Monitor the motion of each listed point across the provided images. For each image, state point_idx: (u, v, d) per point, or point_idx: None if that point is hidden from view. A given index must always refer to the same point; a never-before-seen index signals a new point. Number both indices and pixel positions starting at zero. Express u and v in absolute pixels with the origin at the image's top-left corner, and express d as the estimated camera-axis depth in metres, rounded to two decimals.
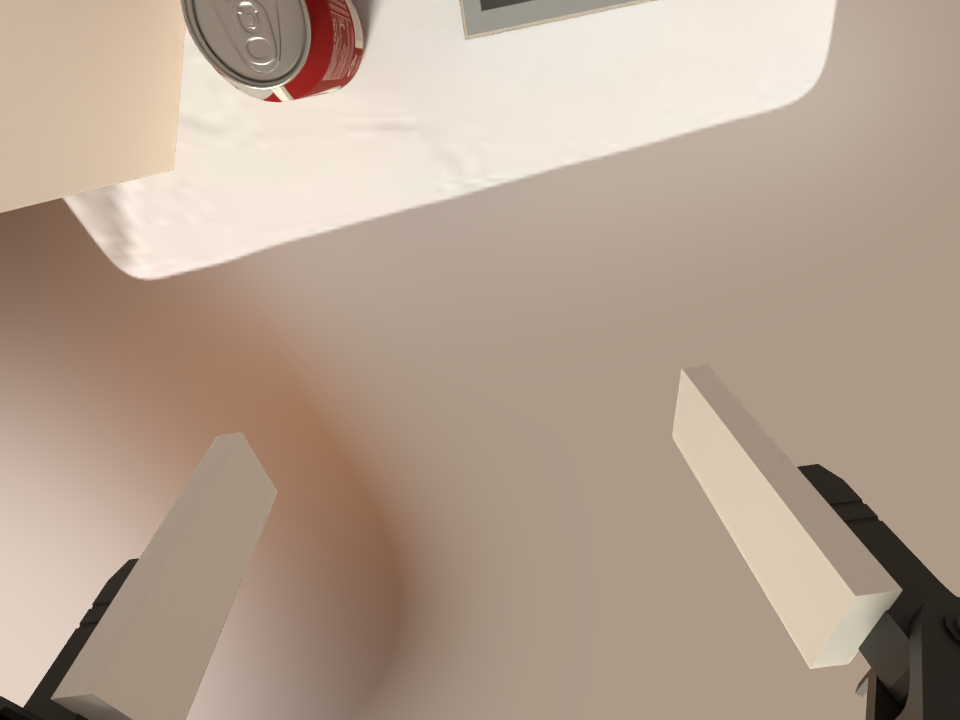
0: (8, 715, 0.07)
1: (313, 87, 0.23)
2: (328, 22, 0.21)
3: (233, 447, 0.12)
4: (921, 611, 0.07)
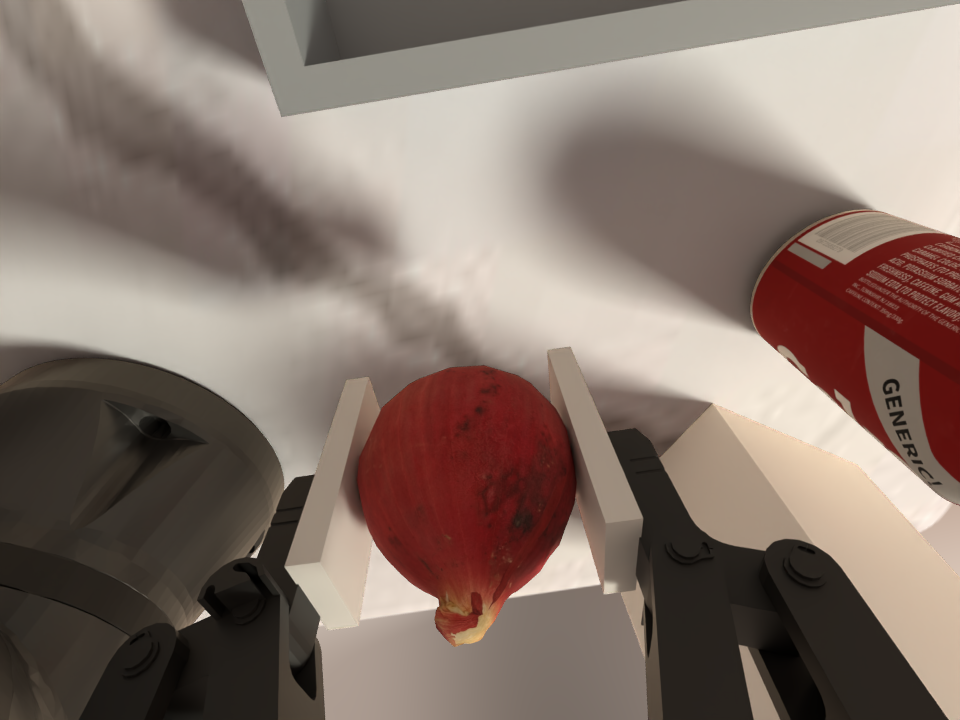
0: (264, 581, 0.08)
1: None
2: None
3: (365, 388, 0.14)
4: (651, 544, 0.09)
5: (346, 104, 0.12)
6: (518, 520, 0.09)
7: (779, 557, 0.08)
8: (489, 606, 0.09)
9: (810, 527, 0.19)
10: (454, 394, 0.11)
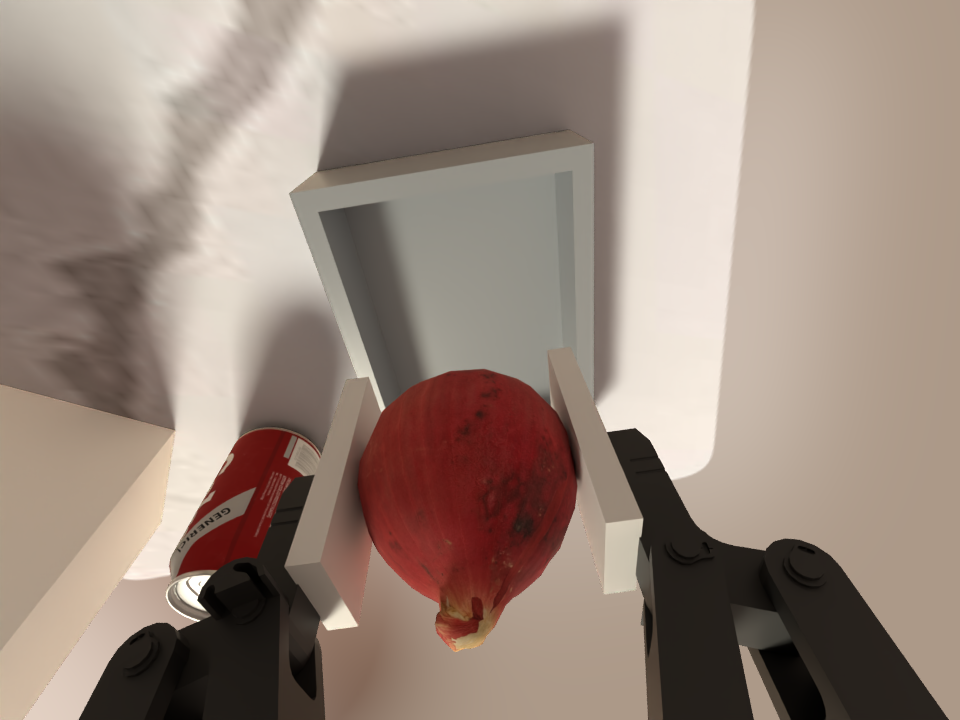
0: (264, 581, 0.08)
1: None
2: None
3: (365, 388, 0.14)
4: (651, 544, 0.09)
5: (304, 231, 0.21)
6: (519, 525, 0.09)
7: (779, 557, 0.08)
8: (490, 611, 0.09)
9: (108, 520, 0.28)
10: (455, 398, 0.11)
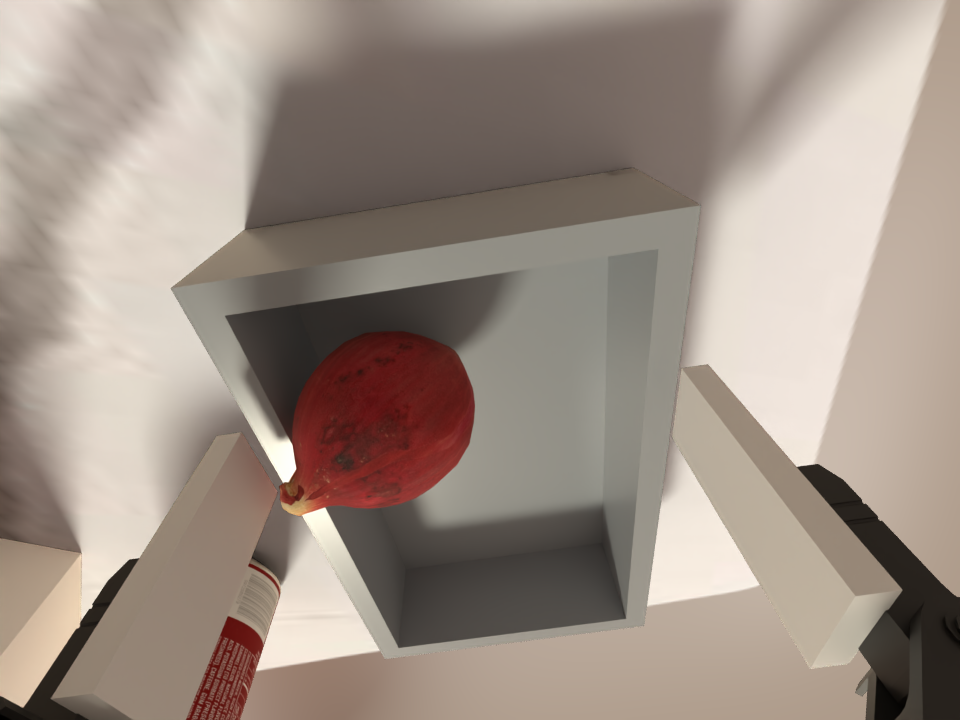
0: (9, 715, 0.07)
1: None
2: None
3: (233, 447, 0.12)
4: (921, 611, 0.07)
5: (205, 344, 0.13)
6: (341, 459, 0.12)
7: None
8: (307, 500, 0.13)
9: None
10: (360, 353, 0.14)
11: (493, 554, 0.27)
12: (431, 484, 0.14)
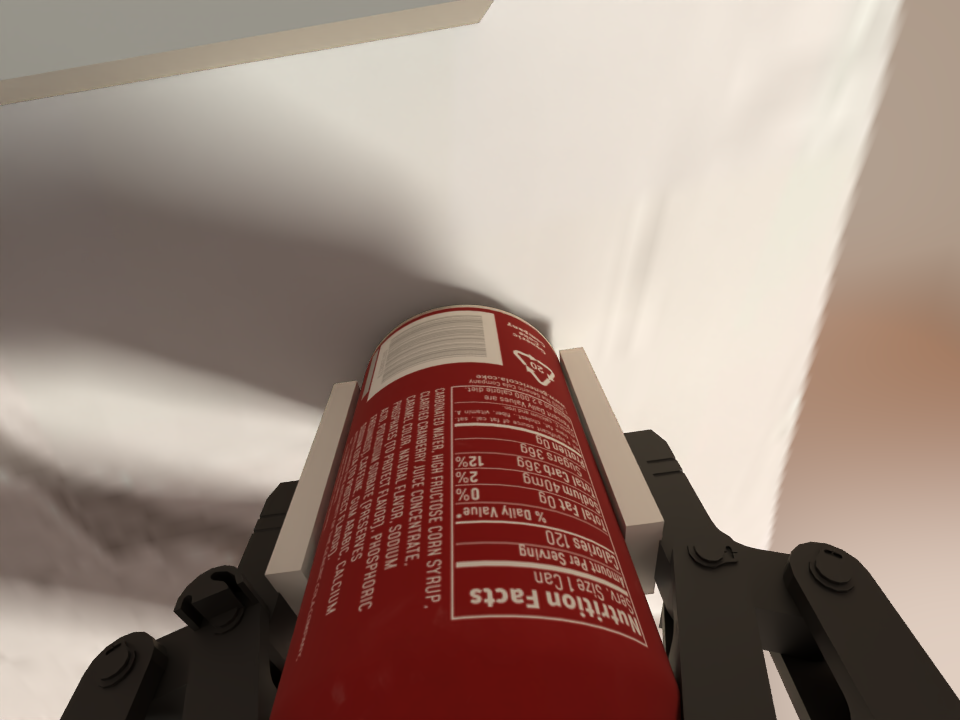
0: (243, 589, 0.08)
1: (669, 683, 0.06)
2: (491, 668, 0.05)
3: (353, 392, 0.14)
4: (673, 546, 0.08)
5: None
6: None
7: (805, 560, 0.08)
8: None
9: None
10: None
11: None
12: None
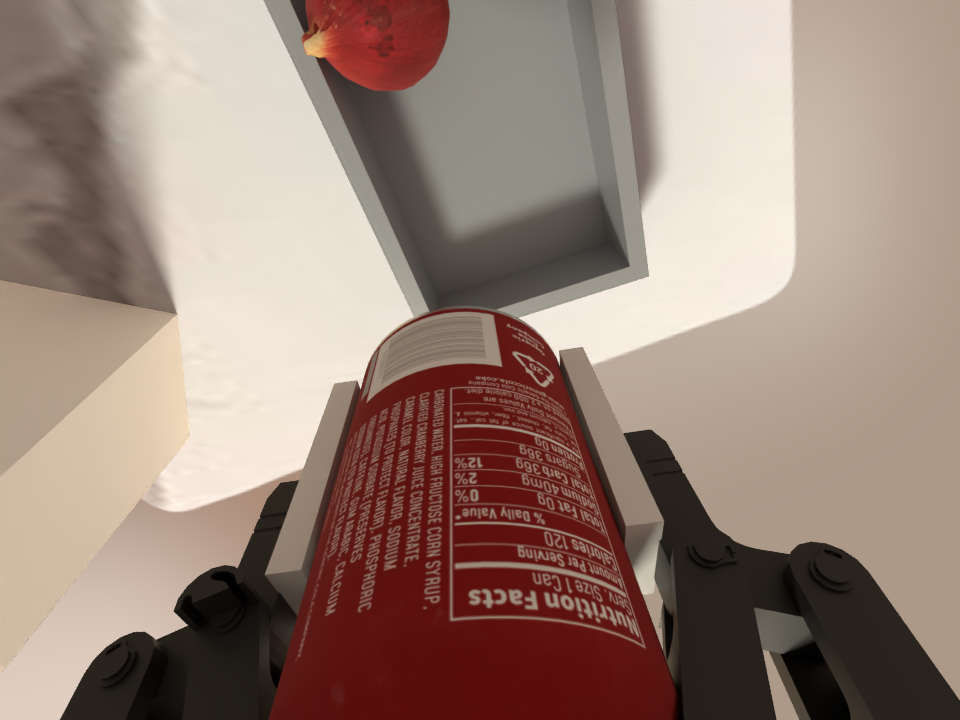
0: (243, 589, 0.08)
1: (667, 684, 0.06)
2: (491, 668, 0.05)
3: (353, 392, 0.14)
4: (673, 546, 0.08)
5: None
6: None
7: (804, 560, 0.08)
8: (321, 33, 0.17)
9: (107, 389, 0.26)
10: None
11: (511, 268, 0.30)
12: (417, 31, 0.18)
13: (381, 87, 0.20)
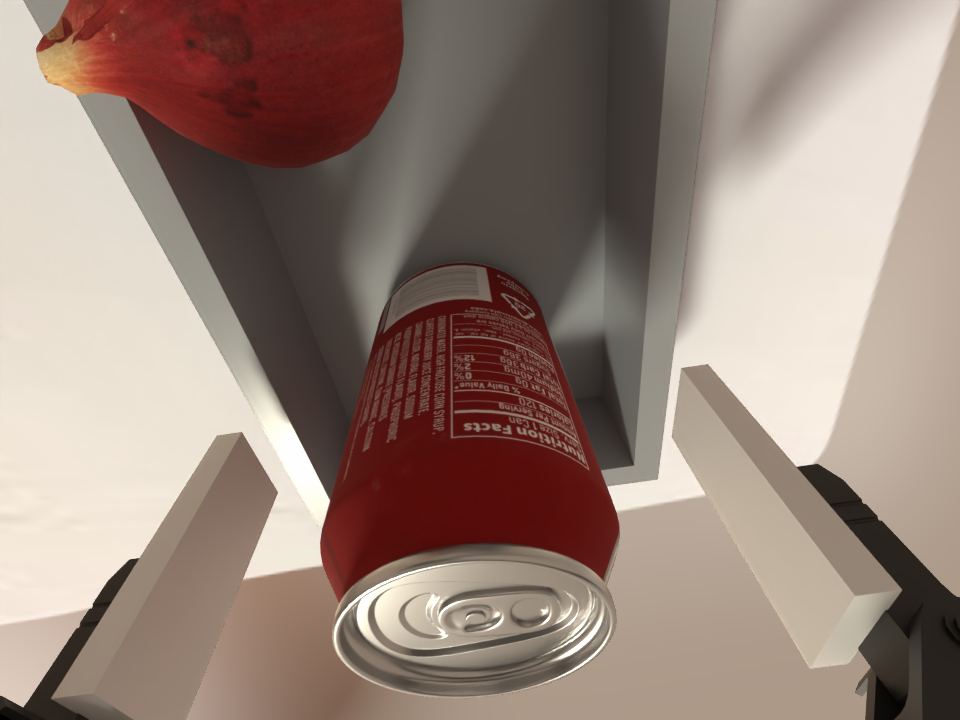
0: (9, 715, 0.07)
1: (604, 495, 0.09)
2: (478, 461, 0.08)
3: (233, 447, 0.12)
4: (921, 611, 0.07)
5: None
6: None
7: None
8: (77, 43, 0.07)
9: None
10: None
11: None
12: (317, 80, 0.08)
13: (249, 162, 0.10)
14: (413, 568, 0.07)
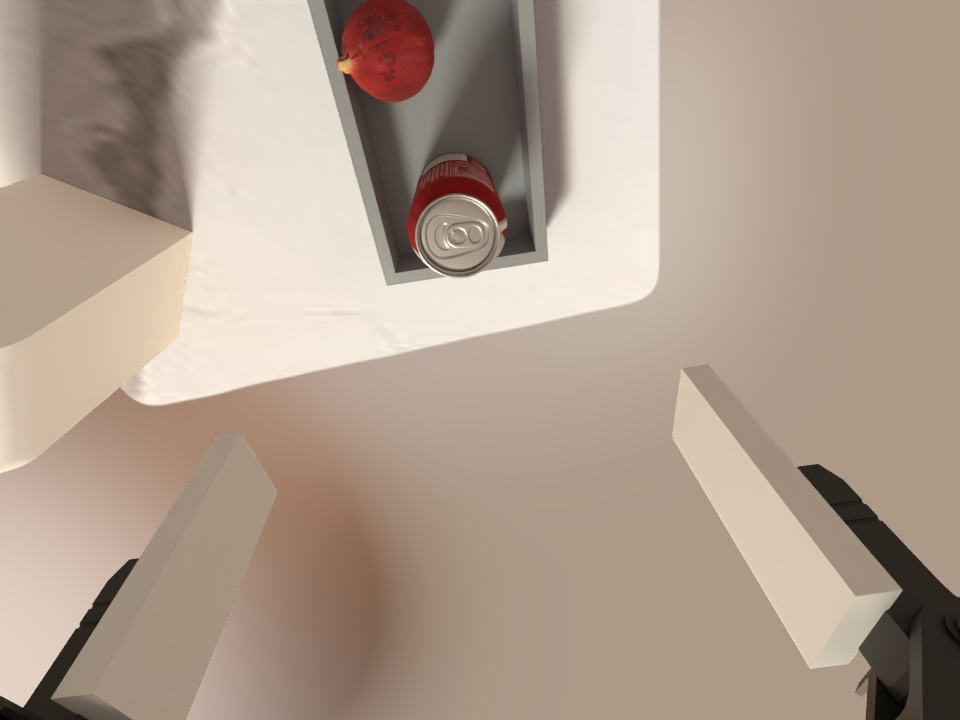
0: (8, 715, 0.07)
1: (498, 200, 0.29)
2: (458, 179, 0.28)
3: (233, 447, 0.12)
4: (921, 611, 0.07)
5: None
6: (367, 33, 0.27)
7: None
8: (350, 59, 0.27)
9: (139, 273, 0.34)
10: None
11: None
12: (410, 70, 0.28)
13: (382, 98, 0.30)
14: (440, 197, 0.27)
